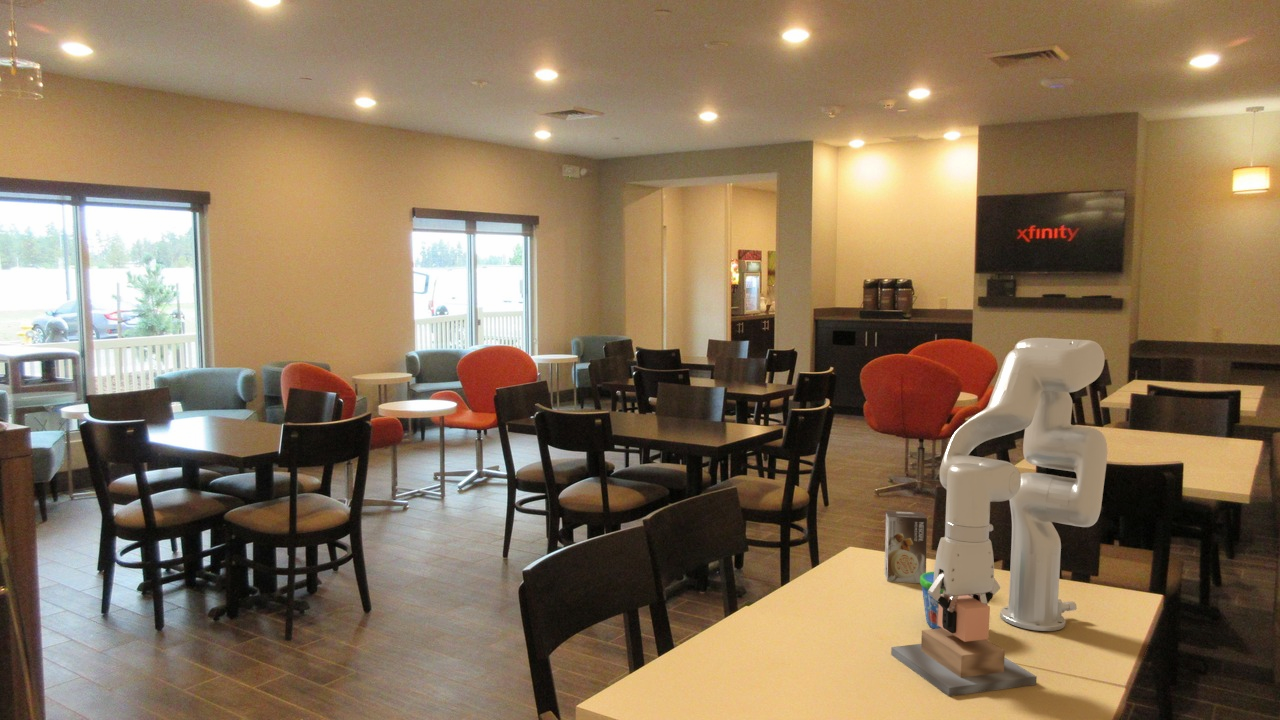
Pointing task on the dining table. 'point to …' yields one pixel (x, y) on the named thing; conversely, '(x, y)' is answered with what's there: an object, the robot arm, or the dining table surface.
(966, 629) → the brick
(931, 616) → the snack cup
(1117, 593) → the dining table surface
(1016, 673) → the base
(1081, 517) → the robot arm
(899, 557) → the coffee box
